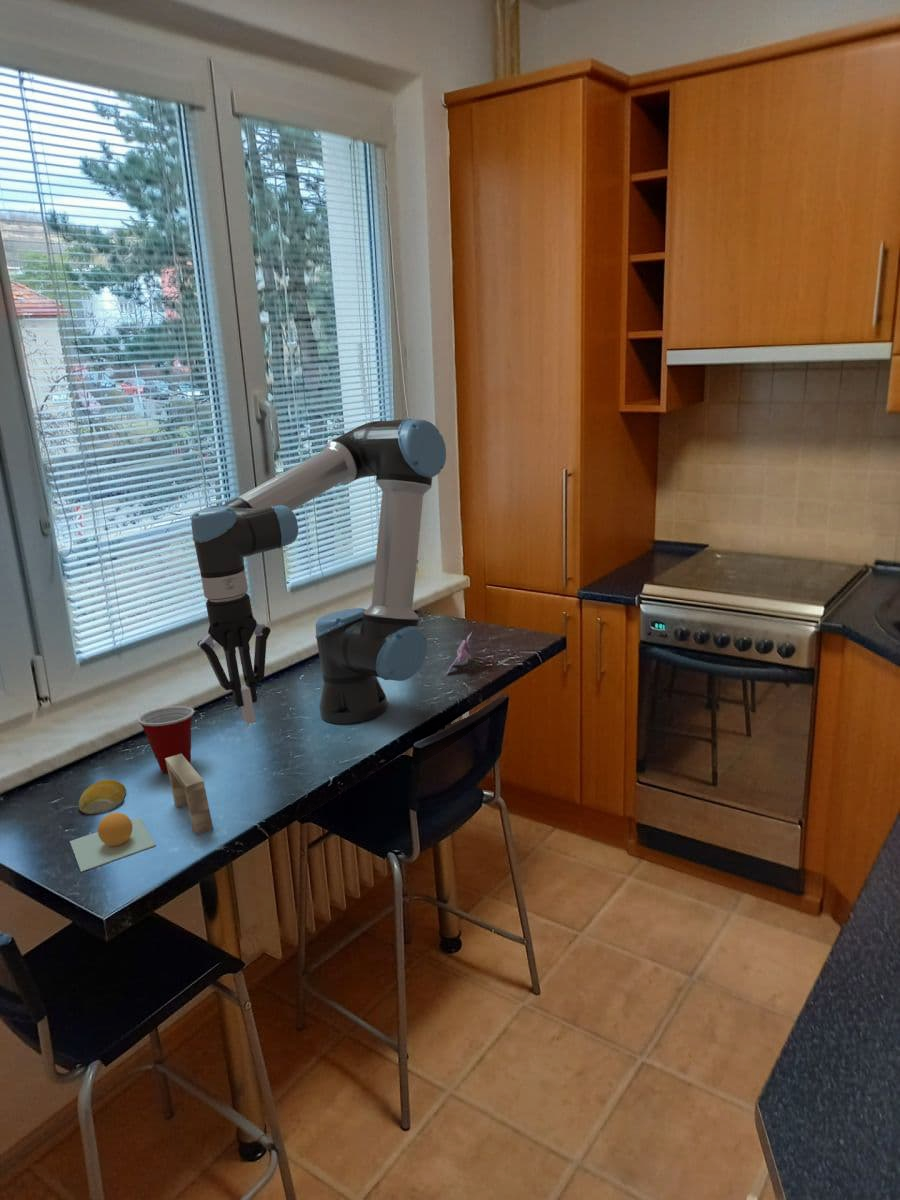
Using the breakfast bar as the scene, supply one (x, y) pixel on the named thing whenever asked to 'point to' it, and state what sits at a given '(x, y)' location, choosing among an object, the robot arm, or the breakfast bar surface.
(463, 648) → the lily
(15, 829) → the breakfast bar surface
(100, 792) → the yellow bowl
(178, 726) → the plastic cup
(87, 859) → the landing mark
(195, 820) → the bridge
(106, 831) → the ball
